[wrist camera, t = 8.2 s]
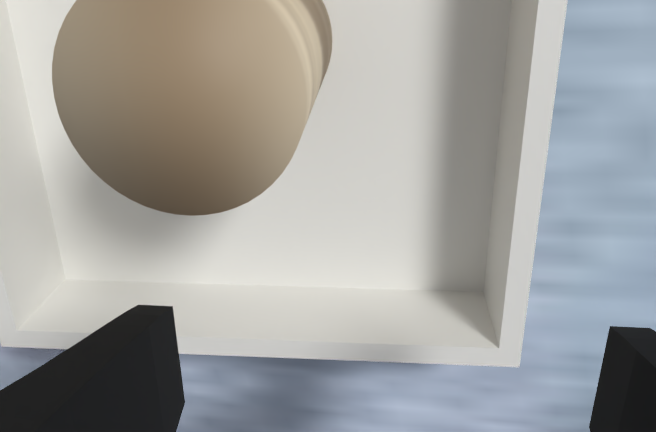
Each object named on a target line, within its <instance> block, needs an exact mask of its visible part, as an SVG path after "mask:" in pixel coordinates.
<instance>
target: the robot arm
mask: <svg viewBox="0 0 656 432" xmlns="http://www.w3.org/2000/svg"><path fill="white" fill-rule="evenodd" d="M184 403H185V400H184V392H183V384H182V376H181V368H180V360H179V352H178V344H177V336H176V328H175V321H174V313H173V306H156V305H137V306H135V307H133V308H131V309H130V310H128V311H126V312H124V313H123V314H121V315H120V316H118V317H116V318H115V319H113V320H112V321H110V322H109V323H107V324H105V325H104V326H102V327H101V328H99V329H98V330H96V331H95V332H93V333H92V334H90V335H89V336H87V337H86V338H84V339H83V340H81V341H79V342H78V343H76V344H75V345H73V346H72V347H70V348H69V349H67V350H66V351H64V352H62V353H61V354H59V355H58V356H56V357H55V358H53V359H52V360H50V361H48V362H47V363H45V364H44V365H42V366H41V367H39V368H37V369H36V370H34V371H32V372H31V373H29V374H27V375H26V376H24V377H22V378H21V379H19V380H17V381H16V382H14V383H12V384H11V385H9V386H7V387H5V388H4V389H2V390H0V432H176V430H177V426H178V423H179V420H180V416H181V413H182V410H183V407H184ZM589 428H590V432H656V332H655V331H654V330H652V329H650V328H634V327H613V326H610V329H609V334H608V339H607V343H606V348H605V353H604V358H603V363H602V368H601V372H600V377H599V382H598V387H597V392H596V397H595V401H594V406H593V411H592V416H591V421H590V426H589Z"/></svg>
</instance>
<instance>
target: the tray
mask: <svg viewBox="0 0 656 432" xmlns="http://www.w3.org/2000/svg"><path fill="white" fill-rule="evenodd" d="M322 1H323V3H324V5H325V7H326V9H327V12H328V15H329V18H330V23H331V28H332V53H331V58H330V63H329V66H328V69H327V72H326V74H325V77H324V79H323V82H322V85H321V87H320V90H319V92H318V95H317V97H316V100H315V103H314V105H313V108H312V110H311V113H310V115H309V118H308V121H307V123H306V126H305V128H304V131H303V134H302V136H301V139H300V141H299V144H298V146H297V149H296V151H295V153H294V155H293V157H292V159H291V161H290V162H289V164H288V165H287V167H286V168H285V170H284V171H283V173H282V174H281V175H280V176H279V178H278V179H277V180H276V181H275V182H274V183H273V184H272V185H271V186H270V187H269V188H268V189H266V190H265V191H264V192H263V193H262V194H260V195H259V196H257V197H256V198H254V199H252V200H251V201H249V202H248V203H245V204H243V205H241V206H239V207H237V208H234V209H231V210H228V211H224V212H221V213H215V214H209V215H195V216H189V215H176V214H171V213H166V212H161V211H158V210H155V209H152V208H148V207H145V206H143V205H141V204H139V203H137V202H134V201H132V200H130V199H129V198H127V197H125V196H124V195H122V194H120V193H118V192H117V191H116V190H114V189H113V188H112V187H110V186H109V185H108V184H106V183H105V182H104V181H103V180H102V179H101V178H99V177H98V176H97V175H96V174H95V173H94V172H93V171H92V170H91V169H90V167H89V166H88V165H87V164H86V163H85V162H84V160H83V159H82V158H81V157H80V155H79V154H78V152H77V151H76V149H75V148H74V146H73V145H72V143H71V141H70V139H69V137H68V136H67V134H66V132H65V130H64V127H63V125H62V122H61V120H60V117H59V114H58V111H57V107H56V103H55V99H54V93H53V85H52V61H53V53H54V47H55V43H56V40H57V36H58V33H59V30H60V28H61V26H62V23H63V21H64V19H65V17H66V15H67V14H68V12H69V10H70V9H71V7H72V6H73V4H74V3H75V2H76V0H0V342H1V346H2V347H22V348H47V349H69V348H70V347H72V346H73V345H75V344H76V343H78V342H79V341H81V340H83V339H84V338H86V337H87V336H89V335H90V334H92V333H93V332H95V331H96V330H98V329H99V328H101V327H102V326H104V325H105V324H107V323H109V322H110V321H112V320H113V319H115V318H116V317H118V316H120V315H121V314H123V313H124V312H126V311H128V310H130V309H131V308H133V307H135V306H137V305H156V306H173V313H174V321H175V328H176V336H177V344H178V352H179V354H198V355H223V356H248V357H273V358H299V359H324V360H349V361H374V362H399V363H424V364H450V365H475V366H500V367H519V366H520V358H521V351H522V343H523V335H524V328H525V320H526V313H527V305H528V297H529V290H530V282H531V275H532V267H533V259H534V252H535V244H536V236H537V229H538V221H539V214H540V206H541V198H542V191H543V183H544V176H545V168H546V160H547V153H548V145H549V137H550V130H551V122H552V115H553V107H554V99H555V92H556V84H557V77H558V69H559V61H560V54H561V46H562V39H563V31H564V23H565V16H566V8H567V0H322Z"/></svg>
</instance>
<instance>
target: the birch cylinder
mask: <svg viewBox="0 0 656 432" xmlns="http://www.w3.org/2000/svg"><path fill="white" fill-rule="evenodd" d="M331 53H332V28H331V23H330V18H329V15H328V12H327V9H326V7H325V5H324V3H323V1H322V0H76V2H75V3H74V4H73V6H72V7H71V9H70V10H69V12H68V14H67V15H66V17H65V19H64V21H63V23H62V26H61V28H60V30H59V33H58V36H57V40H56V43H55V47H54V53H53V61H52V85H53V93H54V99H55V103H56V107H57V111H58V114H59V117H60V120H61V122H62V125H63V127H64V130H65V132H66V134H67V136H68V137H69V139H70V141H71V143H72V145H73V146H74V148H75V149H76V151H77V152H78V154H79V155H80V157H81V158H82V159H83V160H84V162H85V163H86V164H87V165H88V166H89V167H90V169H91V170H92V171H93V172H94V173H95V174H96V175H97V176H98V177H99V178H101V179H102V180H103V181H104V182H105V183H106V184H108V185H109V186H110V187H112V188H113V189H114V190H116V191H117V192H118V193H120V194H122V195H124V196H125V197H127V198H129V199H130V200H132V201H134V202H137V203H139V204H141V205H143V206H145V207H148V208H152V209H155V210H158V211H161V212H166V213H171V214H176V215H189V216H195V215H209V214H215V213H221V212H224V211H228V210H231V209H234V208H237V207H239V206H241V205H243V204H245V203H248V202H249V201H251V200H252V199H254V198H256V197H257V196H259V195H260V194H262V193H263V192H264V191H265V190H266V189H268V188H269V187H270V186H271V185H272V184H273V183H274V182H275V181H276V180H277V179H278V178H279V176H280V175H281V174H282V173H283V171H284V170H285V168H286V167H287V165H288V164H289V162H290V161H291V159H292V157H293V155H294V153H295V151H296V149H297V146H298V144H299V141H300V139H301V136H302V134H303V131H304V128H305V126H306V123H307V121H308V118H309V115H310V113H311V110H312V108H313V105H314V103H315V100H316V97H317V95H318V92H319V90H320V87H321V85H322V82H323V79H324V77H325V74H326V72H327V69H328V66H329V63H330V58H331Z"/></svg>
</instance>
